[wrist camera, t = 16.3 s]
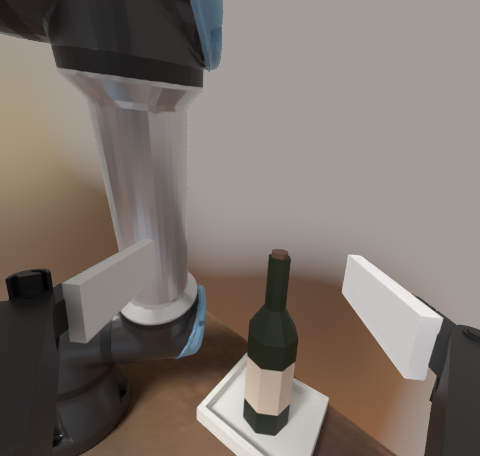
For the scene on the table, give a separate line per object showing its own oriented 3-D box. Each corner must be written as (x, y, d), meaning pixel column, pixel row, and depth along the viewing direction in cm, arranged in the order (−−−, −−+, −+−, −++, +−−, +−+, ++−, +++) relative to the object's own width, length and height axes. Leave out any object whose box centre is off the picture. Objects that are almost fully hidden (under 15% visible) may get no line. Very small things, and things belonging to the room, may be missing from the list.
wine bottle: (280, 448, 34) (301, 266, 28) (233, 419, 38) (242, 253, 31) (293, 402, 41) (313, 249, 35) (253, 382, 45) (264, 240, 39)
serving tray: (196, 419, 38) (196, 407, 38) (247, 360, 51) (247, 351, 51) (295, 508, 28) (297, 495, 28) (327, 408, 41) (329, 397, 41)
